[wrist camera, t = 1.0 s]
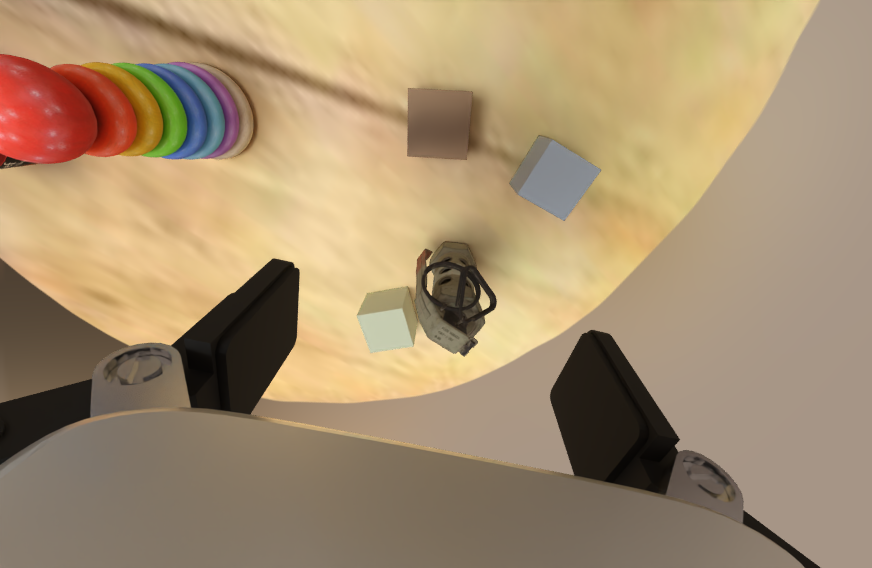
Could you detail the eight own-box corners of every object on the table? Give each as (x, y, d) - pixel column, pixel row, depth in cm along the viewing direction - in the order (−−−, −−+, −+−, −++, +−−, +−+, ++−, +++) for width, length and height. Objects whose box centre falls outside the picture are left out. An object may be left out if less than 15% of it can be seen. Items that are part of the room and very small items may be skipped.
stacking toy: (245, 173, 35) (54, 231, 18) (165, 130, 33) (-124, 151, 17) (267, 96, 32) (61, 81, 15) (180, 44, 30) (-161, -37, 13)
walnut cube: (414, 91, 31) (408, 88, 27) (469, 94, 31) (472, 91, 26) (413, 150, 33) (407, 156, 29) (464, 153, 33) (466, 159, 29)
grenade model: (493, 242, 37) (517, 316, 24) (455, 287, 40) (456, 377, 26) (446, 207, 36) (442, 266, 22) (409, 256, 38) (386, 335, 25)
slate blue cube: (538, 135, 32) (552, 139, 28) (581, 161, 33) (601, 169, 29) (508, 183, 34) (517, 194, 30) (550, 206, 35) (564, 221, 31)
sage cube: (367, 293, 41) (356, 315, 36) (407, 286, 40) (402, 308, 36) (378, 327, 43) (370, 352, 38) (417, 321, 42) (413, 346, 38)
